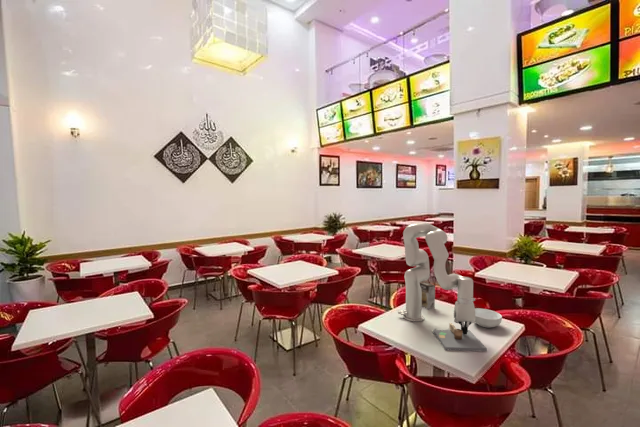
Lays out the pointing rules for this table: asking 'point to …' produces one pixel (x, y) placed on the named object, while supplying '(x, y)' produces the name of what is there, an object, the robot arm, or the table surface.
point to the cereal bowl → (487, 318)
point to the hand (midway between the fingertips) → (464, 333)
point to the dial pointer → (456, 331)
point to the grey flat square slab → (459, 341)
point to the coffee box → (428, 295)
